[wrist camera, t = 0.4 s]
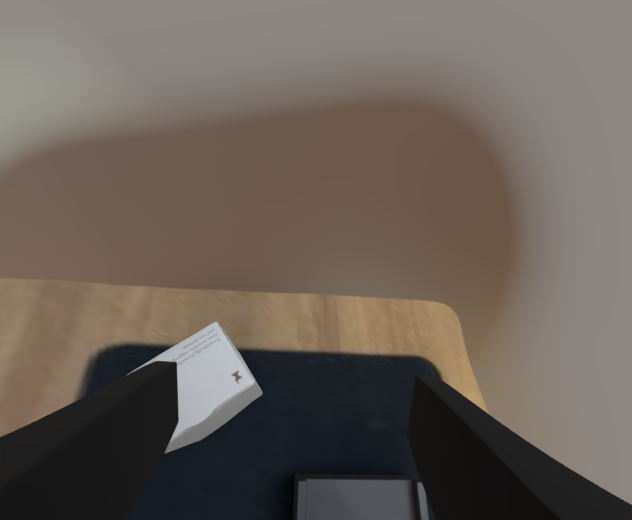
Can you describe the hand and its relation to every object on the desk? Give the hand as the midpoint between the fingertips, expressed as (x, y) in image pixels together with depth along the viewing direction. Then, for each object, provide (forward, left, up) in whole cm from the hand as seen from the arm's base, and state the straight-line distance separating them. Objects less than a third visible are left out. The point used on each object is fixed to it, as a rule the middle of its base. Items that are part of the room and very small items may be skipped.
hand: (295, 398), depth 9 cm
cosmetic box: (+2, +7, -28) cm, 29 cm away
